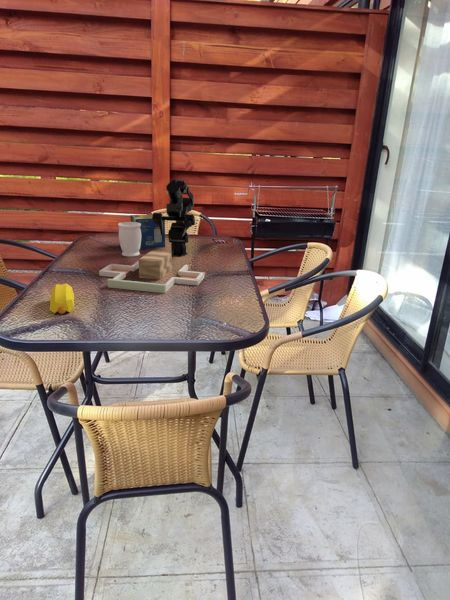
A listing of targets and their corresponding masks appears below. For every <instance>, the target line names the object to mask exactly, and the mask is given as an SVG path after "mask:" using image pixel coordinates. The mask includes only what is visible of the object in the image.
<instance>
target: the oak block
mask: <svg viewBox="0 0 450 600" xmlns="http://www.w3.org/2000/svg"><path fill="white" fill-rule="evenodd" d="M172 256H173V255H172V252H171V251H164V250H154V249H151V250H150V251H149V252H147V253H146V254H144V255H143V256H142V257H140V258H139V259H138V260H137V261H139V268H138V278H139V279H150V280H159V281H161V280H162V279H163V278H164V277H165V276H166V275H167V274H168V273H170V272H171V271H172V270H173V257H172Z"/></svg>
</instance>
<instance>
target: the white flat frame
mask: <svg viewBox="0 0 450 600" xmlns="http://www.w3.org/2000/svg"><path fill="white" fill-rule="evenodd" d="M189 266H190V265H189V264H184V265H183V266H182V267H181V268H180V269H179V270H178V272H177V273H178V276H179V277H178V276H172V277H171V278H169V279H168V280H167V281H166V283H154V282H146V281H136V280H134V281H133V280H126V279H125V278H127V274H128V273H130V272H135V271H136V270H137V269H138V270H139V260H137V261H136V262H135V263H132V265H127V264H118V263H110V264H108V265H107V266H105V267H103V268H102V269H100V270H99V271H98V274H99V276H100V277H110V278H107V281H106V282H107V288H110V289H111V288H113V289H121V290H131V291H132V290H133V291H138V292H139V291H140V292H151V293H158V294H166V293H167V292H168V291H169V290H170V289H171V288H172V286H174V285H175V284H178V285H179V284H180V285H191V286H199V285H200V283H201V282H202V281H203V280H204V279H205V277H206V276H205V275H206V272H202V271H193V270H192V271H190V270H189ZM111 277H112V278H111ZM124 279H125V280H124Z"/></svg>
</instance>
